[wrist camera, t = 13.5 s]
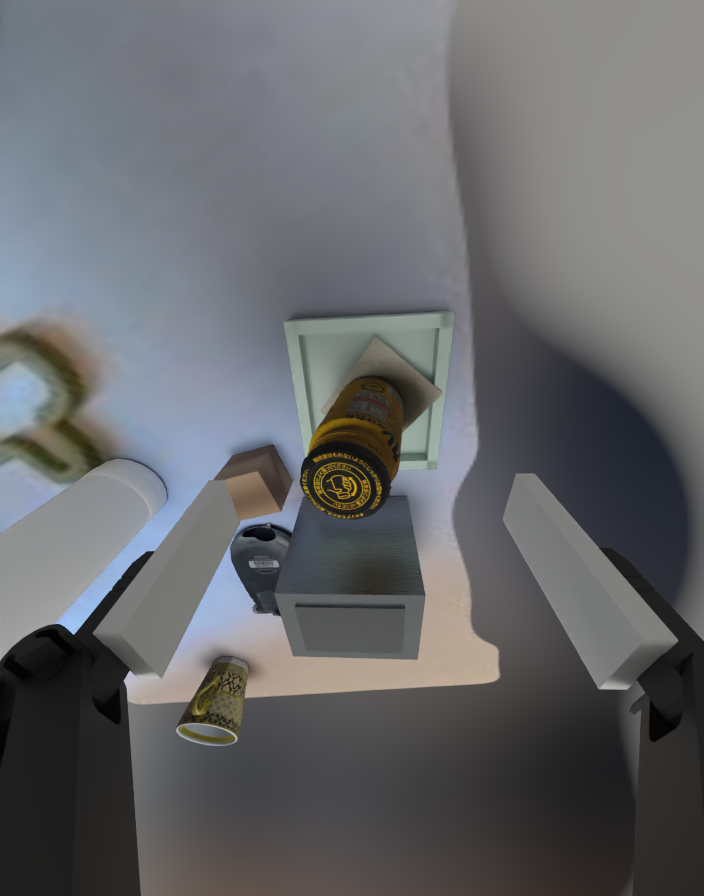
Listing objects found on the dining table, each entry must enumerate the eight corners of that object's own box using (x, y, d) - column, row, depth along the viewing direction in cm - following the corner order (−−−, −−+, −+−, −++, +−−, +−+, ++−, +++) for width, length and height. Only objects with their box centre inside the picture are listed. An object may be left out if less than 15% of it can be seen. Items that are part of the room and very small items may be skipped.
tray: (289, 319, 24) (283, 322, 22) (448, 310, 23) (455, 312, 21) (310, 460, 31) (307, 471, 29) (433, 458, 30) (436, 469, 28)
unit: (303, 497, 33) (273, 595, 23) (406, 495, 32) (425, 598, 22) (313, 556, 38) (293, 660, 28) (403, 557, 38) (417, 663, 27)
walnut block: (232, 455, 31) (210, 483, 27) (273, 444, 30) (257, 471, 26) (253, 490, 33) (236, 521, 29) (292, 481, 32) (281, 511, 28)
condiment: (320, 410, 27) (264, 488, 17) (375, 335, 23) (345, 380, 13) (379, 454, 28) (360, 552, 18) (442, 392, 24) (464, 473, 14)
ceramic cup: (262, 677, 57) (244, 747, 49) (215, 676, 58) (188, 744, 49) (245, 643, 51) (220, 716, 42) (192, 642, 52) (157, 714, 43)
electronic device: (319, 583, 44) (295, 523, 35) (309, 622, 40) (279, 565, 31) (264, 577, 46) (228, 519, 37) (250, 614, 42) (204, 558, 33)
